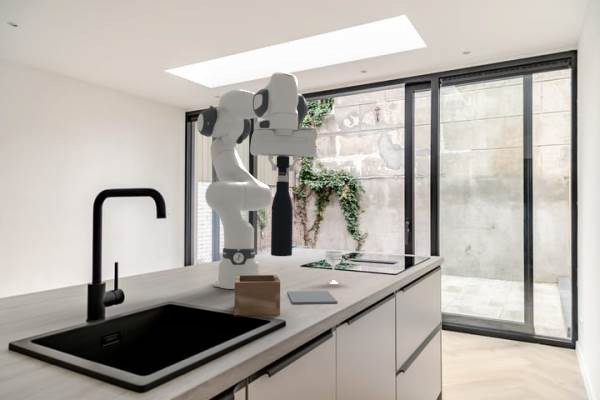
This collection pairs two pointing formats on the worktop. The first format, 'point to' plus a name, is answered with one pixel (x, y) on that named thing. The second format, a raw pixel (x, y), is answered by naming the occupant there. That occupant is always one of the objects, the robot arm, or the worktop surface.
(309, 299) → the grey mat
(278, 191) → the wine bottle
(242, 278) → the walnut crate
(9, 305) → the worktop surface
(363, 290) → the worktop surface
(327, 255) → the wineglass
